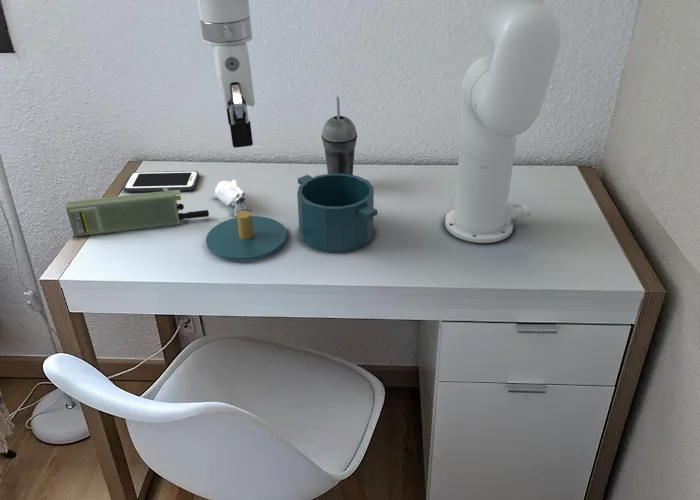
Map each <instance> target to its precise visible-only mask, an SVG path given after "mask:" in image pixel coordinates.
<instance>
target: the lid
mask: <svg viewBox="0 0 700 500" xmlns="http://www.w3.org/2000/svg"><path fill="white" fill-rule="evenodd" d="M287 238H288V234H287V229H286V228H285V226H284V225H283V224H282V223H281V222H279V221H277V220H275V219H273V218H270V217H266V216H260V215H252V212H250V211H249V210H246V211H245V210H242V211H241V212H238V213H237V216H236V217H234V218H230V219H229V218H228V219H227V220H224V221H222V222H219V223H218V224H216V225H215V226H213V227H212V228H211V229H210V230H209V231H208V232H207V234H206V237H205V244H206V247H207V249H208V251H209V252H210V253H211V254H213V255H215V256H216V257H219V258H220V259H221V258H222V259H224V260H229V261H252V260H257V259H261V258H265V257H267V256H270V255H272V254H274V253H275V252H277V251H279V250H280V249H281V248H283V246H284V245H285V243H286V242H287Z"/></svg>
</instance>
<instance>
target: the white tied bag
mask: <svg viewBox="0 0 700 500" xmlns="http://www.w3.org/2000/svg"><path fill="white" fill-rule="evenodd" d="M213 197H215V198H217V199H219V200H220V202H222V203H223V204H224V205H226V206H227V207H228V206H233V207H235V208H234V211H233V214H234V217H235V216H236V217H237V214H238V213H239V212H241V211H247V209H248V206H247V205H246V204H245V203H246V200H247V198H248V194H247V192H245V190H243V189H242V187H241V185H240V184H239V182H238V180H236V179H232V180H231V181H229V180H221V181H219V182H218V183H217V185H216V186H215V188H214V195H213Z"/></svg>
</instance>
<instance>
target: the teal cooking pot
mask: <svg viewBox="0 0 700 500" xmlns="http://www.w3.org/2000/svg"><path fill="white" fill-rule="evenodd" d="M297 184H298V187H297V188H298V189H297V192H296V193H297V196H296V197H297V211H298V212H297V213H298V230H299V235H300V238H301V240H302V243H304V244H305V245H306V246H307V247H309V248H311V249H313V250H316V251H319V252H323V253H333V254H335V253H337V254H338V253H348V252H353V251H355V250H358V249H361V248H363V247H364V246H366V245H367V244H369V243H370V242H371V240H372V239H373V236H374V218H375V217H376V216H378V209H377V208H375V207H374V205H375V204H374V203H375V202H374V201H375V200H374V199H375V196H374V194H375V187H374V185H372V183H371V182H370V181H369V180H368V179H366V178H363V177H361V176H359V175H355V174H353V175H350V174H341V173H330V174H328V173H325V174H320V175H319V174H318V175H316V176H311V175H309V174H305V175H302V176H301V177H298V178H297Z"/></svg>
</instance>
